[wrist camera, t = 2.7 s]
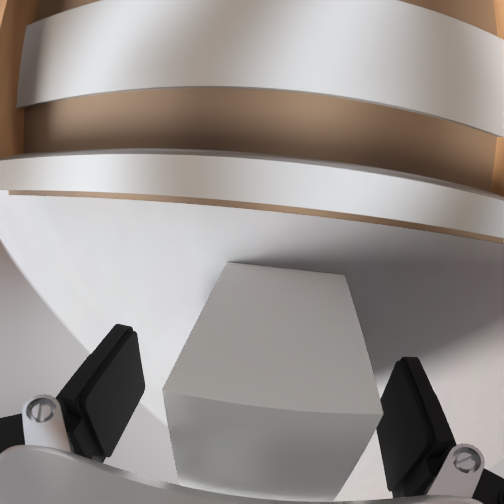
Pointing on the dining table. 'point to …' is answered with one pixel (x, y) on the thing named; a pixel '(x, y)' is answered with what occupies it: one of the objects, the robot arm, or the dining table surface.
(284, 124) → the rail board
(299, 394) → the block
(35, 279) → the dining table surface
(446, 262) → the dining table surface
